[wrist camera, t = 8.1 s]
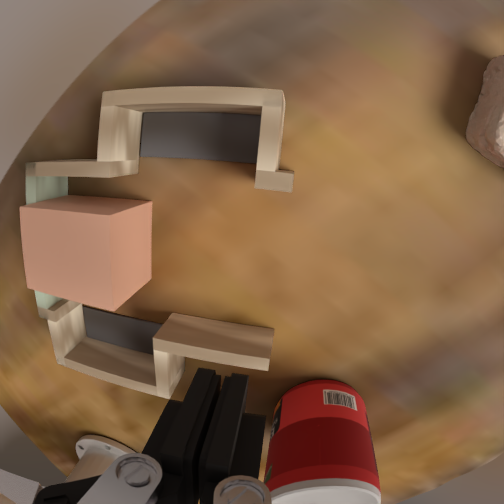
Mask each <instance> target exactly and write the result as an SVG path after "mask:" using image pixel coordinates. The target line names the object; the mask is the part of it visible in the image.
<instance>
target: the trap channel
mask: <svg viewBox="0 0 504 504" xmlns="http://www.w3.org/2000/svg"><path fill="white" fill-rule="evenodd" d="M143 112H153V113H144V116H143V126H142V138H141V152H140V157H169V158H190V159H206V160H221V161H233V162H245V163H256V164H257V168H256V178H255V188H258V189H267V190H276V191H284V192H292V187H293V179H294V171H287V170H279V165H280V155H281V145H282V135H283V124H284V114H285V98H284V93H283V90H275V89H262V88H246V87H217V86H182V87H154V88H138V89H125V90H114V91H105V92H103V95H102V104H101V113H100V124H99V136H98V152H97V159H74V160H51V161H40V162H30V163H26V205H28V204H32V203H36V202H40V201H44V200H48V199H52V198H57V197H61V196H65V195H68V177H105V178H110V177H117V176H124V175H131V174H138V166H139V149H140V136H141V124H142V114H143ZM199 112H212V113H199ZM228 113H235V114H228ZM245 114H251V115H245ZM259 115H262V116H259ZM35 296H36V301H37V307H38V312H39V317H41V318H44V319H47V320H48V325H49V329H50V334H51V339H52V343H53V347H54V351H55V356H56V359H57V363H58V364H60V365H63V366H65V367H68V368H71V369H73V370H76V371H79V372H82V373H84V374H87V375H90V376H93V377H96V378H99V379H102V380H105V381H108V382H111V383H114V384H117V385H121V386H124V387H127V388H130V389H134V390H137V391H141V392H144V393H148V394H152V395H156V396H159V397H163V398H167V399H170V397H171V396H172V394H173V392H174V390H175V388H176V386H177V384H178V382H179V380H180V378H181V377H182V375H183V373H184V371H185V357H189V358H194V359H199V360H205V361H210V362H215V363H221V364H227V365H232V366H239V367H245V368H251V369H258V370H265V371H268V368H269V362H270V355H271V349H272V342H273V336H274V329H271V328H264V327H257V326H250V325H243V324H237V323H230V322H224V321H218V320H212V319H206V318H200V317H194V316H189V315H183V314H178V313H172V314H171V315H170V316H169V318H168V319H167V320H166V321H165V323H164V324H160V323H155V322H150V321H146V320H141V319H136V318H132V317H128V316H123V315H119V314H115V313H110V312H106V311H102V310H98V309H94V308H90V307H86V306H83V308H82V303H78V302H74V301H71V300H67V299H64V298H60V297H56V296H53V295H49V294H46V293H43V292H39V291H36V290H35ZM83 312H84V315H83ZM84 319H85V322H84ZM85 326H86V328H85ZM86 332H87V334H86Z"/></svg>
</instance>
